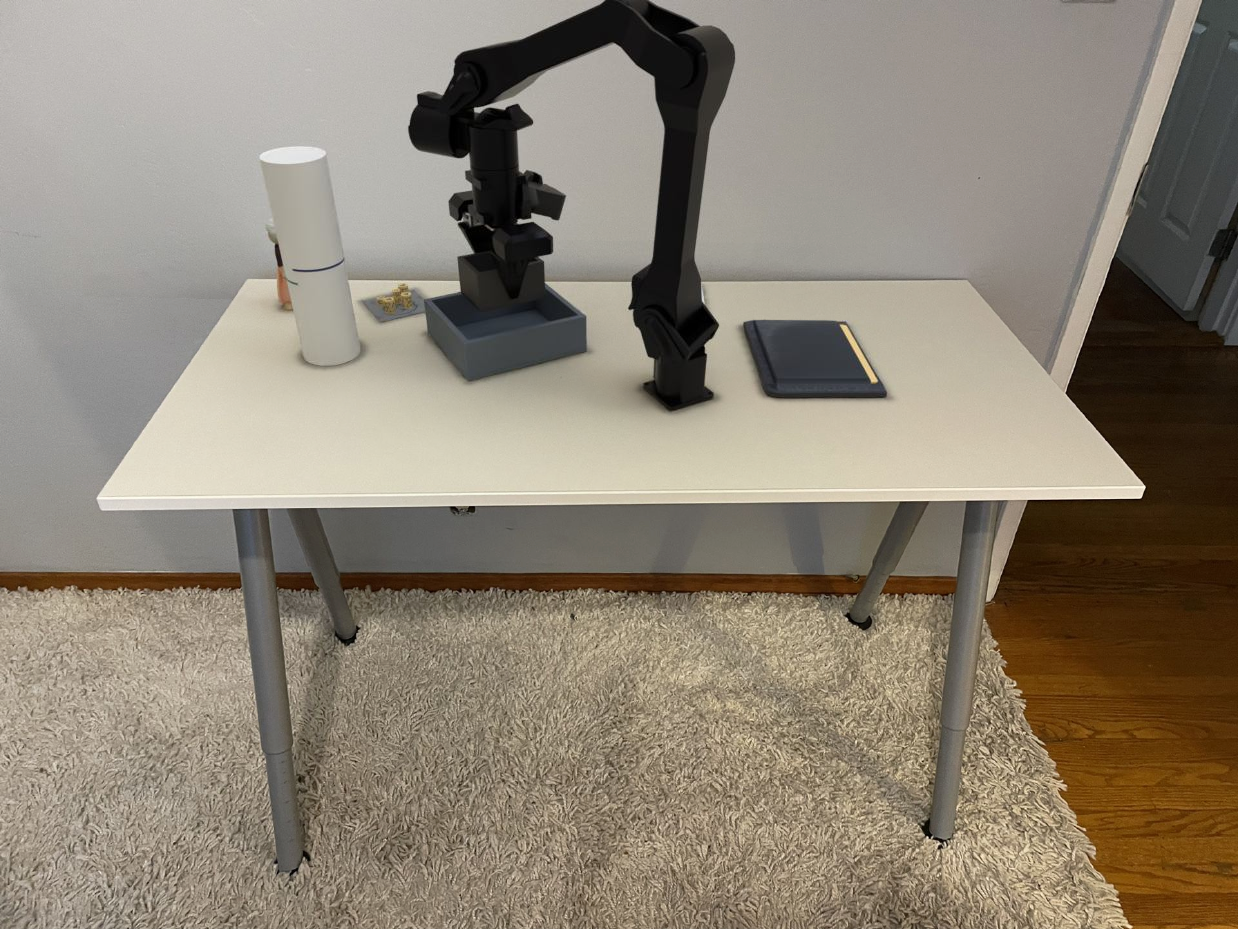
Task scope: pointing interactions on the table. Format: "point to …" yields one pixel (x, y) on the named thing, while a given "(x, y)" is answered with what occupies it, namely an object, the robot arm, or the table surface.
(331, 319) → the cylindrical container
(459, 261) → the black bin
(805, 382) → the wallet
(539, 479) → the table surface
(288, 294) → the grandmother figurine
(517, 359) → the grey bin
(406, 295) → the dice set
